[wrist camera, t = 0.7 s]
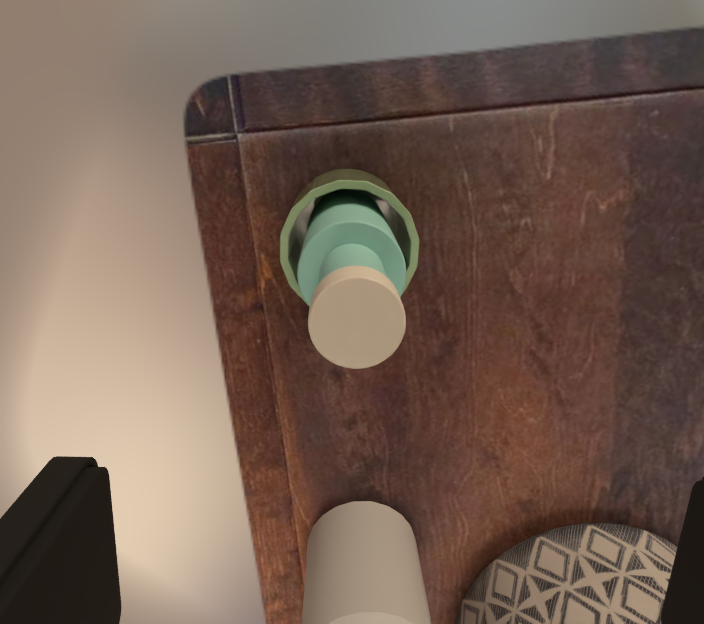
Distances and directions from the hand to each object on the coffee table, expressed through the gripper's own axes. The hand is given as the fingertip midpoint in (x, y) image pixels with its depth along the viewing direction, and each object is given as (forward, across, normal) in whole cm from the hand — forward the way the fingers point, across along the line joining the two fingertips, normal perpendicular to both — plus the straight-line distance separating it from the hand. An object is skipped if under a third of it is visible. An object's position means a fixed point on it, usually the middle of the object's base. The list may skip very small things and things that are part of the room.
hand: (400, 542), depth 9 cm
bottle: (+26, 0, -1) cm, 26 cm away
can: (+27, -2, +21) cm, 35 cm away
